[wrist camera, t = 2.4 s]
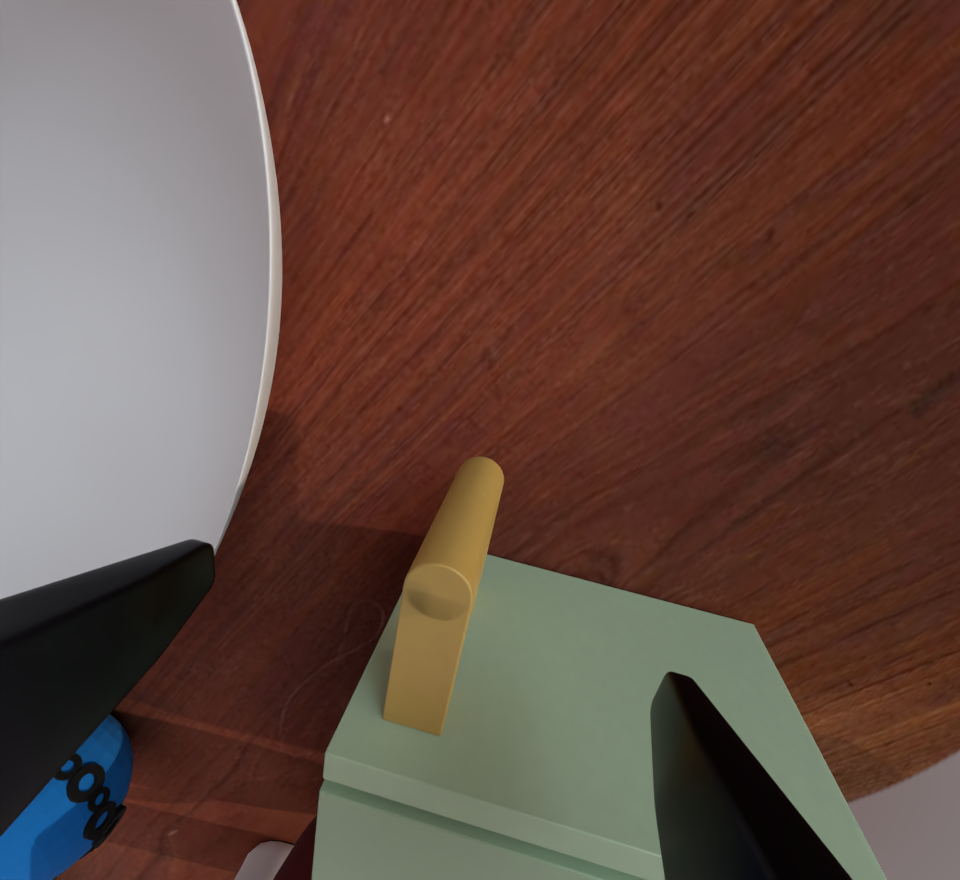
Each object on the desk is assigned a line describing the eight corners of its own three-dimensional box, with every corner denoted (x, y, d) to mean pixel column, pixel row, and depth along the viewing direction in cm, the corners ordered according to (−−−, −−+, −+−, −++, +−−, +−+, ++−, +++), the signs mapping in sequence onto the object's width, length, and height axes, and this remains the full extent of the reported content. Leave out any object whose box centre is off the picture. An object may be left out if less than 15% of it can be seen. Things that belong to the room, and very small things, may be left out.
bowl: (63, -191, 13) (-317, -533, 7) (502, 141, 14) (462, 64, 8) (-51, 527, 25) (-232, 605, 19) (194, 676, 26) (92, 793, 20)
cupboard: (424, 559, 20) (318, 791, 11) (739, 644, 19) (891, 972, 10) (397, 714, 24) (302, 976, 15) (658, 791, 23) (718, 1123, 14)
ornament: (39, 727, 30) (-190, 933, 21) (50, 644, 27) (-216, 845, 18) (158, 787, 30) (-16, 1016, 21) (184, 712, 27) (-10, 946, 18)
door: (447, 423, 18) (339, 578, 9) (815, 512, 17) (1088, 784, 8) (424, 557, 20) (321, 779, 11) (743, 642, 19) (893, 958, 10)
